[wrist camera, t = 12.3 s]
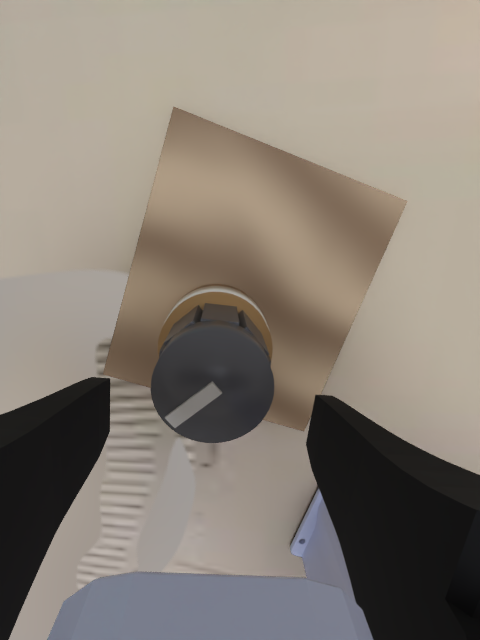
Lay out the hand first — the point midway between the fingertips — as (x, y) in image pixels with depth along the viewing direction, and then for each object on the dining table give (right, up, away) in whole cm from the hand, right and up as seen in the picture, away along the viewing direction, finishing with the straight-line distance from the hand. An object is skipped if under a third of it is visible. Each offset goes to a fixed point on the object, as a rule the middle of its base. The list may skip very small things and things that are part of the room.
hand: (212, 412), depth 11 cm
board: (+1, +5, +9) cm, 10 cm away
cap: (0, +2, +6) cm, 6 cm away
